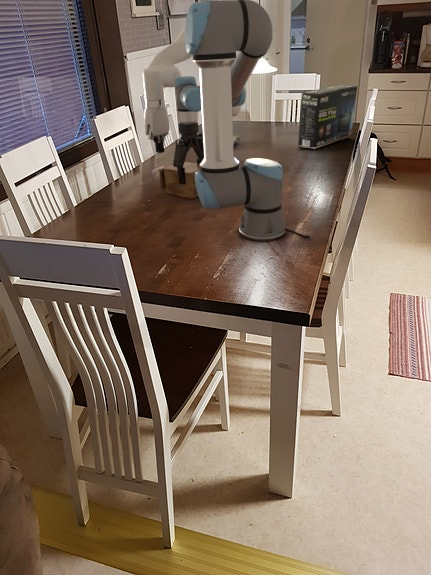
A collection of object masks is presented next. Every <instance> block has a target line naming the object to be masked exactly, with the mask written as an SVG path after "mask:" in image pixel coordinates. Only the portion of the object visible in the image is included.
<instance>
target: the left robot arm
mask: <svg viewBox="0 0 431 575" xmlns="http://www.w3.org/2000/svg"><path fill="white" fill-rule="evenodd" d="M191 58H193V54H191V55H190V54H188V53H187V51H186V44H185V26H183V27H182V30H181V31H180V33H179V34H178V36H177V37H176V39H175V40H174V41H173V42H172V43H170V44H169V45H168V46H166V47H164V48H163V49H162V50H161V51H159V52H158V53H157V54H156V55H155V56H154V58H153V59H152V60H151V62H150V64H149V65H148V68H144V69H143V70H142V82H143V90H144V91H143V92H144V99H145V101H144V102H145V109H144V115H143V118H144V119H143V120H144V121H143V122H144V124H143V125H144V132H145V135H146V136H148V137H147V138H148V140H150V141H153V143H154V145H155V146H154V147H155V152H156V153H158V154H163V153H165V142H166V141H165V140H166V139H165V138H166V137H167V136H168V135H169V132H170V119H169V112H168V109H167V105H166V94H165V89H166V88H175V80H176V78H177V77H183V74H182V71H181V70H180V68H178V67H177V66H176V65H177V64H180V63H183V62H185V61H187V60H189V59H191ZM241 108H242V105H241V106H236V107H232V117H237V116H238V115H239V114H240V112H241V111H242V110H241Z"/></svg>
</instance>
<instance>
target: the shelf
mask: <svg viewBox="0 0 431 575" xmlns="http://www.w3.org/2000/svg"><path fill="white" fill-rule="evenodd" d="M171 165H173V163H172V164H169V165H167V166H164V165H163V166H160V167H157V168H154V169H152V170H151V174H152V175H156V174H158V175H159V182H160V189H161V190H166V185H165V174H164V168H166V167H168V166H171Z"/></svg>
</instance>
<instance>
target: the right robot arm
mask: <svg viewBox="0 0 431 575" xmlns="http://www.w3.org/2000/svg"><path fill="white" fill-rule="evenodd" d="M185 17H186V18H185V25H184V27H185V44H186V51H187V53H188V54H190V55H191V54H193V56H192V62H193V63H194V64H195V65H196V66H197V67H198V72H199V85H198V84H197V78H196V77H195V76H194V75H193V76H191V75H190V76H189V75H187V76H186V75H185V76H183V75H182V77H177V78H176V80H175V87H174V89H175V96H176V97H175V99H176V108H177V109H176V112H177V122H178V124H177V125H178V126H177V127H178V134H180V139H175V143H174V144H175V147H174V148H175V149H174V156H173V162H172V164H173V167H177V170H178V176H179V184H184V185H185V184H186V179H185V167H183V165H184V162H186V159H187V156H188V153H189V151H190V149H193V151H194V153H195V155H196V157H197V159H196V164H200V171H197V172H195V184H196V188H197V192H198V196H197V197H198V198H199V201H200V204H201V205H202V207H203V208H204V209H206V210H220V209H226V208H233V207H239V206H244V211H243V213H242V215H241V217H240V222H239V226H238V232H239V235H240V236H241V237H242V238H244V239H247V240H250V241H254V242H271V241H277V240H279V239H281V238H283V237H285V235H286V234H287V232H288V233H290V234H293V235H296V236H297V237H298V236H299V237H301V238H306V239H310V235H309V234H308V235H307V234H302V233H300V232H297V231H296V230H292V229H289V228H287V223H286V221H285V216H284V214H283V210H282V200H283V183H284V175H283V173H284V172H283V171H284V170H283V166H282V164H280V163H279V162H278V161H275V160H272V159H268V158H259V157H252V158H251V157H250V158H247V159H245V160H244V163H243V165H240V161H239V160H238V159H237V158H236V156H234V155H235V154H234V145H233V133H234V122H233V116H232V107H236V106H241V107H242V106H243V105H244V104H245V102H246V98H247V90H246V85H247V83H248V82H249V80H250V77H251V76H252V74H253V72H254V70H255V69H256V66H257V64H258V62H259V60H260V59H261V58H263V57H264V56H265V55H266V54H268V51H269V49H270V47H271V46H272V44H273V38H274V26H273V22H272V19H271V17H270V15H269V14H268V12H267V10H266V9H265V8H264V7H263V6H262V4H261V5H260V4H259V3H258V2H256V1H254V0H203V1H194V2H192V3H191V4H190V6H189V8H188V9H187V13H186V16H185ZM199 112H201V122H202V132H200V129H199V128H200V127H199V122H198V121H199ZM180 163H181V165H180Z"/></svg>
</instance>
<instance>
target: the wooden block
mask: <svg viewBox="0 0 431 575" xmlns="http://www.w3.org/2000/svg"><path fill="white" fill-rule="evenodd" d="M170 165H171V164H170ZM180 165H181V163H180ZM167 166H168V167H166V166H165V167H166V168H164V174H165V185H166V189H165V193H166V194H169V195H173V196H177V197H180V198H181V197H182V198H187V199H190V200H193V199H195V198H197V197H199V196H198V192H197V188H196V184H195V172H197V171H200V164H197V163H195V162H190V161H189V162H188V161H185V162H184V165H183V167H185V179H186V184H185V185H184V184H179V176H178V170H177V167H173V165H171V166H169V165H167Z"/></svg>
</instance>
